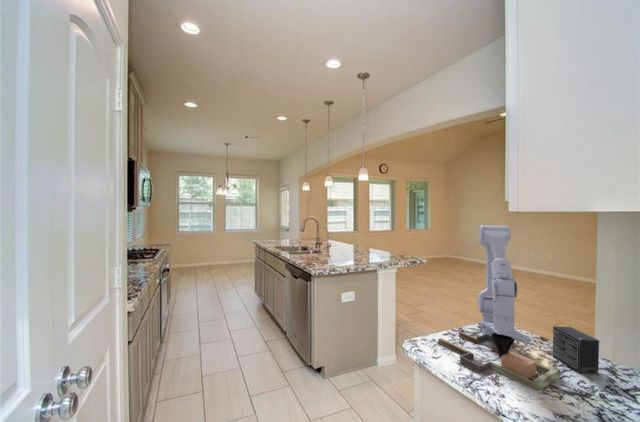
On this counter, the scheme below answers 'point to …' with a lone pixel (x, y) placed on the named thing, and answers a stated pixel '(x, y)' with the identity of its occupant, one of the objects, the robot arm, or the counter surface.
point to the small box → (576, 349)
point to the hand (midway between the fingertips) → (503, 357)
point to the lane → (536, 384)
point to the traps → (475, 364)
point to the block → (519, 364)
